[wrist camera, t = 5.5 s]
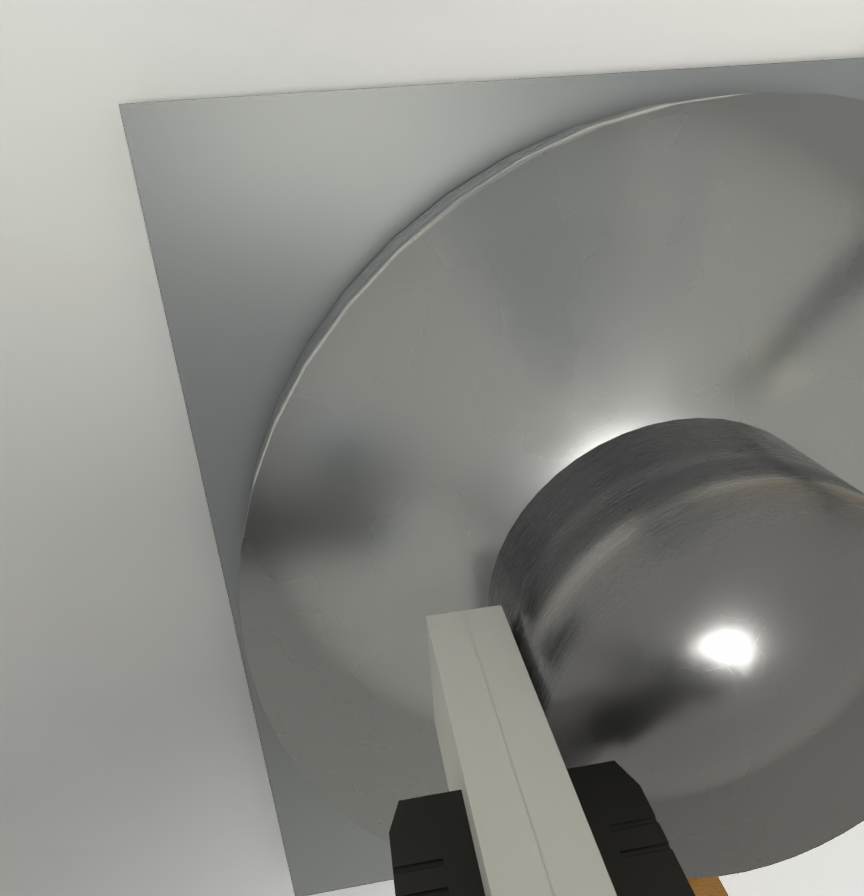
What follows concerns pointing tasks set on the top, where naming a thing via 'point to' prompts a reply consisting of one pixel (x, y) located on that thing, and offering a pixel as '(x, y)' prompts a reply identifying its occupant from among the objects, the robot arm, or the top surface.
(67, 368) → the top surface
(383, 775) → the turntable
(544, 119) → the base plate
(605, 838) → the robot arm
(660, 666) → the dark grey bowl
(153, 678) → the top surface
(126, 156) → the top surface
